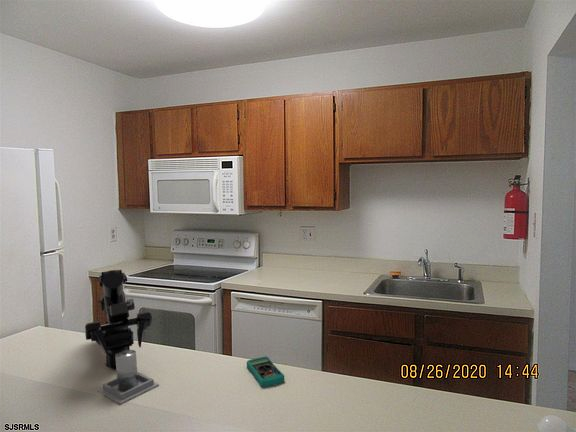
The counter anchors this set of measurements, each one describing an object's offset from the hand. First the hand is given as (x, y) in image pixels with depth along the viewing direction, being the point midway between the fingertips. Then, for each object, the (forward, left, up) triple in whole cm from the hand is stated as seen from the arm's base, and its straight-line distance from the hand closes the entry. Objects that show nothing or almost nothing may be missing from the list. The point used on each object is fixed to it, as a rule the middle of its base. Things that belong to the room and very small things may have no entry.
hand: (124, 350), depth 121 cm
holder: (+2, +4, -10) cm, 11 cm away
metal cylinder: (+2, +4, -9) cm, 10 cm away
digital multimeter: (-27, +31, -11) cm, 43 cm away
